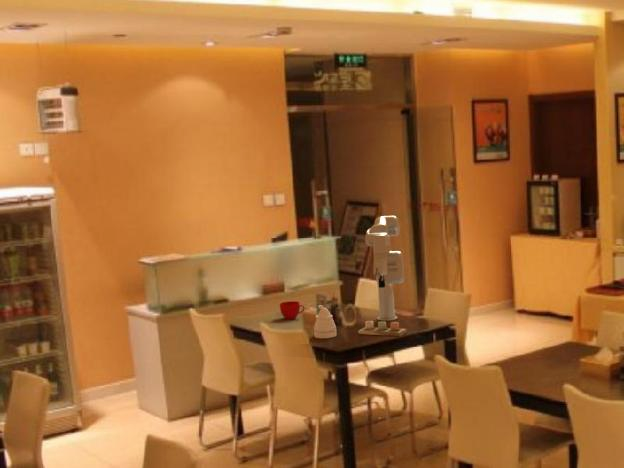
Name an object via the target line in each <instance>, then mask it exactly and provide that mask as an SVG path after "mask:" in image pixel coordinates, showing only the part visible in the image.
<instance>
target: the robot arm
mask: <svg viewBox="0 0 624 468" xmlns="http://www.w3.org/2000/svg"><path fill="white" fill-rule="evenodd" d="M400 233H401V226H400V222H399V218H398V217H397V216H396V215H382V216H378V217H376V218H375V219H374V224H373V225H372V226H371V227H370V228H368V229H367V230H366V231H365V244H366V245H367V246H368V247H373V250H372V251H373V276H374V277H375V279H376V283H377V289H378V290H377V292H378V293H377V294H378V309H379V313H378V314H379V316H377V317H376V318H377V320H378V321H381V322H389V321H395V320H397V319H398V316H397V315H396V313H397V310H395V309H396V308H395V294H394V292H395V291H394V289H393V288H392V287H391V285H394V284H395V285H396V284H403V283H404V282H405V268H404V267H405V266H404V265H405V262H404V255H403V253H402V251H399V250H393V251H392V246H391V245H392V243H391V237H398V236H399V235H400ZM389 267H395V268H389Z"/></svg>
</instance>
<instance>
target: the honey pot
mask: <svg viewBox="0 0 624 468" xmlns="http://www.w3.org/2000/svg"><path fill="white" fill-rule="evenodd" d="M317 307H318V309H319V312H318V314H317V315H315V319H316V320H315V324H314V327H313V333H314V338H316V339H331V338H336V336H337V334H338V333H337V326H336V324H335V320H334V318H333V315H332V314H331V313H330V311H329V309H327V307H324V306H323V305H321V304H320V305H318V306H317Z"/></svg>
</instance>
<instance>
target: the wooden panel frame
mask: <svg viewBox="0 0 624 468" xmlns="http://www.w3.org/2000/svg"><path fill="white" fill-rule="evenodd" d="M407 331H408V330H407V328H399V330H397V331H392V330H391V327H386V330H378V326H377V327H376V326H374V329H366V326H364V327H362V328H360V329H359V330H358V332H357V333H358V335H373V336H374V335H375V336H389V335H390V336H391V337H394V336H395V337H401V336H403V335H404V334H406V333H407Z"/></svg>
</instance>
